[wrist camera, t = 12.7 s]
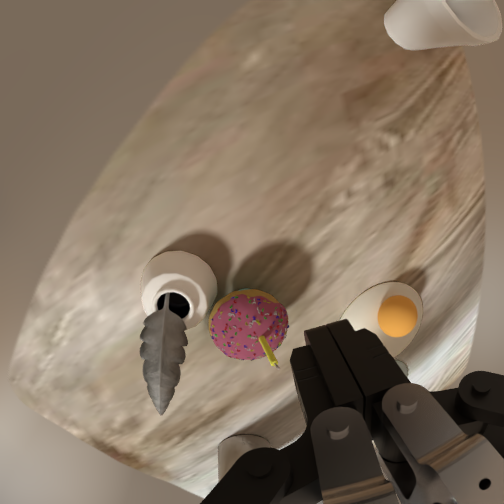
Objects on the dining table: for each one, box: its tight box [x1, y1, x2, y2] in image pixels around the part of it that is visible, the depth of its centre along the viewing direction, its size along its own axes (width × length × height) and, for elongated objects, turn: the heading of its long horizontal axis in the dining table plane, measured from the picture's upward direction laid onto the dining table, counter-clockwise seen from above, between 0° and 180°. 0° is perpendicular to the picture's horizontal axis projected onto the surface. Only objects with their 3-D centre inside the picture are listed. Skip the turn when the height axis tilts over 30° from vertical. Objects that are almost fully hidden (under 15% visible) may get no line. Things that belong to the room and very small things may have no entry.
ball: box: [377, 295, 418, 337], centre depth 37 cm, size 6×6×6 cm
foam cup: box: [384, 0, 503, 50], centre depth 22 cm, size 10×9×13 cm
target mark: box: [340, 282, 423, 358], centre depth 41 cm, size 14×14×1 cm
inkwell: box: [140, 251, 218, 415], centre depth 33 cm, size 9×18×10 cm, turn 170°
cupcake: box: [209, 288, 289, 369], centre depth 32 cm, size 9×8×12 cm
